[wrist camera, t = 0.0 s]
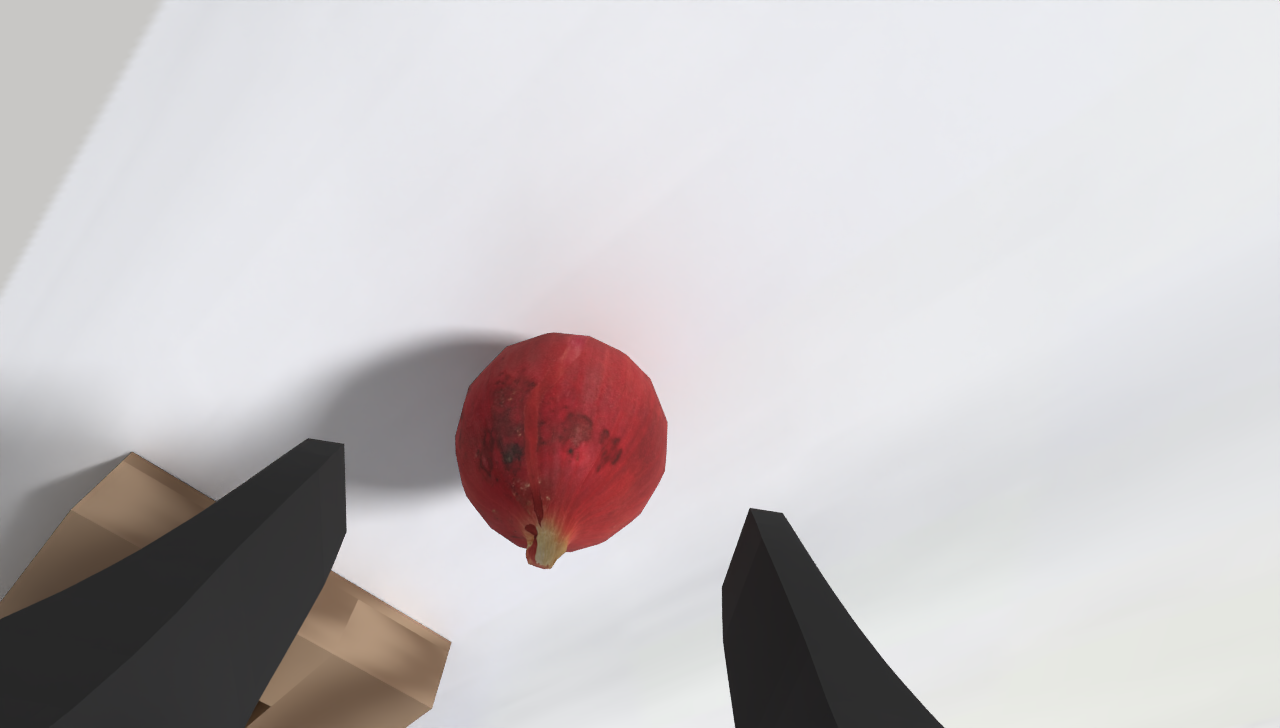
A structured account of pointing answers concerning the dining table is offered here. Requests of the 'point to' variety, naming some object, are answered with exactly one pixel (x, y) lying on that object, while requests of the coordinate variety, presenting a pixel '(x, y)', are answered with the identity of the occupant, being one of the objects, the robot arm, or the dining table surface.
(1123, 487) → the dining table surface
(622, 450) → the red rounded piece
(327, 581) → the pocket block
